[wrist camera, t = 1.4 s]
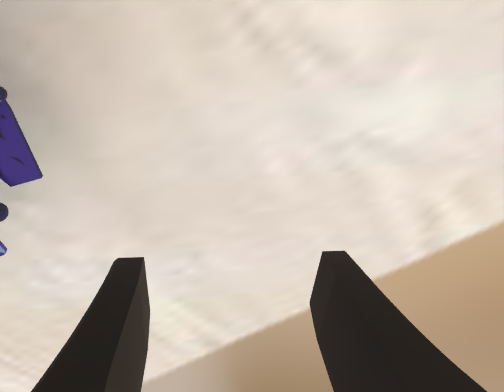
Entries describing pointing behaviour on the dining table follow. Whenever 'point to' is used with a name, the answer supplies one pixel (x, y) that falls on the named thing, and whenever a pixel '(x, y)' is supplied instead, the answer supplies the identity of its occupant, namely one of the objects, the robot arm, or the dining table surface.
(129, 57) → the dining table surface
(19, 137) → the toy airplane
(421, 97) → the dining table surface
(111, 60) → the dining table surface
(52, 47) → the dining table surface
